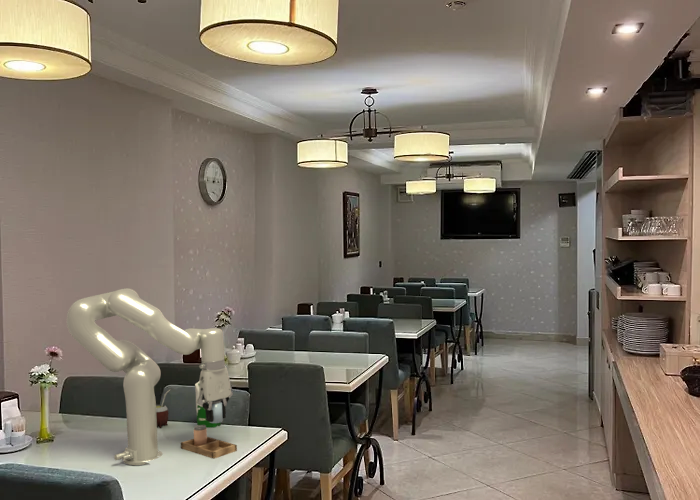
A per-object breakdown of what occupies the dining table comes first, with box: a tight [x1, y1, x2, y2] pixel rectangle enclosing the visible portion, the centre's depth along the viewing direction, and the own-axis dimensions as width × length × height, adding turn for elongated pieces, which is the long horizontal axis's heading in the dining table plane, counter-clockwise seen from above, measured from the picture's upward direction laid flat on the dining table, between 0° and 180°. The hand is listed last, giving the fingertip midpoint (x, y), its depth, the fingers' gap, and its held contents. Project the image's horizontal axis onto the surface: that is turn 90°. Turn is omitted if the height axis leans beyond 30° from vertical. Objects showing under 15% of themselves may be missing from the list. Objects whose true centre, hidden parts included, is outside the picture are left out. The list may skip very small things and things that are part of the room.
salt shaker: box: [210, 399, 224, 423], centre depth 222 cm, size 4×4×7 cm
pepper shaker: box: [193, 424, 208, 446], centre depth 228 cm, size 4×4×7 cm
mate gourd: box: [156, 388, 172, 430], centre depth 260 cm, size 8×8×15 cm
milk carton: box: [194, 380, 222, 429], centre depth 255 cm, size 9×9×20 cm
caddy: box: [180, 436, 238, 459], centre depth 225 cm, size 10×18×3 cm, turn 49°
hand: (216, 418), depth 222 cm, fingers closed on salt shaker, 4 cm apart
